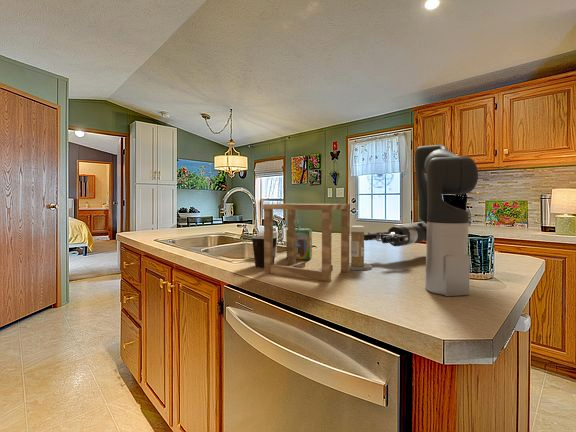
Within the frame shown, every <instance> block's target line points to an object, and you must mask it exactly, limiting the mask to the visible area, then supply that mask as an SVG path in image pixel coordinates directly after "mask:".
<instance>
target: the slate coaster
mask: <svg viewBox="0 0 576 432" xmlns="http://www.w3.org/2000/svg"><path fill="white" fill-rule="evenodd" d="M372 269H373V265H371V264H369V263H365V262H364V266H361V267H356V266H352V265H351V262H349V271H356V272H357V271H358V272H359V271H369V270H372Z"/></svg>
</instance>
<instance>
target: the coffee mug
mask: <svg viewBox="0 0 576 432" xmlns="http://www.w3.org/2000/svg"><path fill="white" fill-rule="evenodd" d="M276 241H277V242H278V237H275V236H273V265H275V250H276ZM251 242H252V250H253V259H254V265H255V266H256V267H255V268H258V267H260V268H259V269H264V236H258V235H257V236H252V237H251Z"/></svg>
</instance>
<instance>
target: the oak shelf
mask: <svg viewBox="0 0 576 432" xmlns="http://www.w3.org/2000/svg"><path fill="white" fill-rule="evenodd" d="M350 209H351V203H267V204H266V203H263V204H262V210H263V231H264V268H263V269H264V270H263V272H264V273H266V274H273V273H274V274H275V275H282V276H289V277H295V278H304V279H308V280H317V281H322V282H326V283H329V282H331V281H332V271H333V270H334V269H333V264H332V236H333V235H332V232H333V231H332V224H333V223H332V221H333V220H332V218H333V217H332V213H333V211H338V210H341V212H340V217H341V218H340V221H341V223H340V228H341V229H340V230H341V231H340V272H343V273H348V272H349V271H350V270H349V263H350V228H351V226H350V217H351V214H350V213H351V211H350ZM274 210H287V229H288V260H287V265H280V264H274V265H273V231H274ZM296 210H297V211H303V210H304V211H321V268H318V269H312V268H311V269H310V268H305V267H306V262H305V261H300V262H297V263H296V260H295V228H296Z"/></svg>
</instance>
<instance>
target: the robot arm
mask: <svg viewBox="0 0 576 432" xmlns="http://www.w3.org/2000/svg"><path fill="white" fill-rule="evenodd" d="M414 169H415V170H414V171H415V178H416V187H417V194H418V218H419V220H421V221H422V222H417V223H415V224H414V225H395V226H391V227H390V228H389V229H388V230H387V231H386V230H385V231H372V232H367V233H366V234H365V233H364V242H365V241H366V242H367V241H376V242H381V243H382V244H390V245H391V246H392V247H402V246H403V247H404V246H409V245H412V244H413V245H414V244H418V243H421V242H423V241H424V242H426V243H425V244H426V246H425V247H426V250H425V251H426V252H425V290H427V291H428V292H431V293H434V294H438V295H443V296H445V297H455V296H470V279H471V277H470V276H471V256H470V255H469V254H468V253H469V251H468V249H469V247H468V245H469V220H470V219H469V213H468V211H467V210H465V209H462V208H459V207H456V206H453V205H451V204H449V203H448V202H446V201H444V199H443V196H442V195H444V196H446V195H447V196H449V195H452V196H453V195H458V196H459V195H466V194H469V193H471V192H473V190H474V189H475V188H476V186H477V183H478V182H479V181H478V180H479V170H478V165H477V163H476V162H475V161H474V159H473V158H472V157H470V156H460V155H458V154H456V153H454V152H452V151H450V150H448V148H447V146H446V145H444V144H433V145H423V146H422V145H421V146H418V147H416V149H415V151H414ZM425 172H426V174H425ZM425 175H426V176H425Z"/></svg>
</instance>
